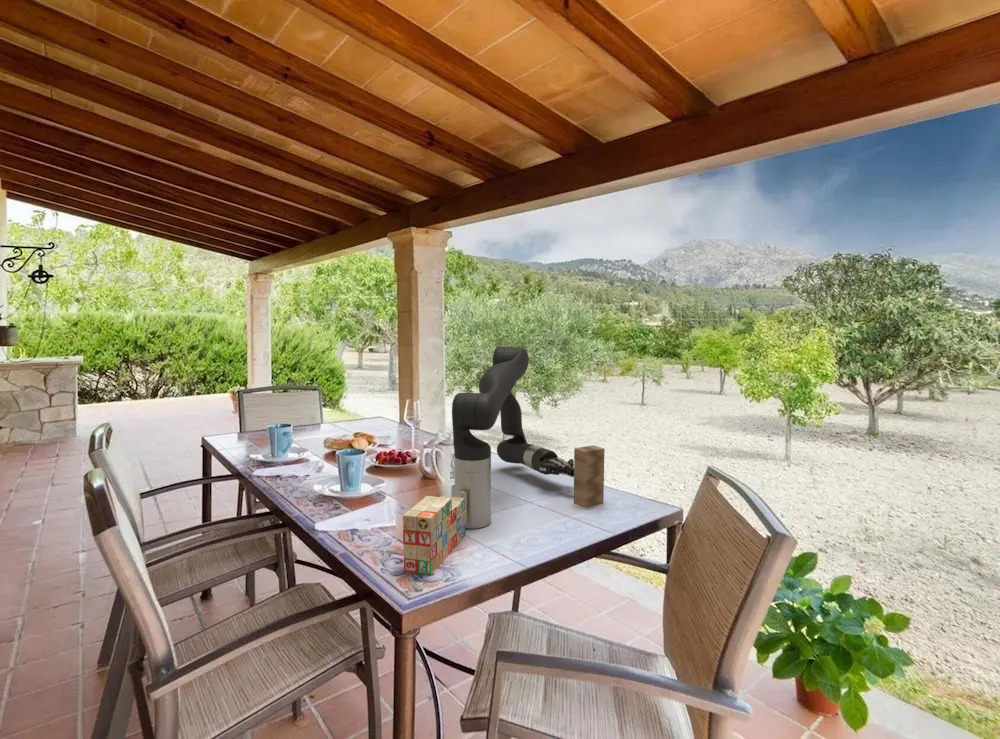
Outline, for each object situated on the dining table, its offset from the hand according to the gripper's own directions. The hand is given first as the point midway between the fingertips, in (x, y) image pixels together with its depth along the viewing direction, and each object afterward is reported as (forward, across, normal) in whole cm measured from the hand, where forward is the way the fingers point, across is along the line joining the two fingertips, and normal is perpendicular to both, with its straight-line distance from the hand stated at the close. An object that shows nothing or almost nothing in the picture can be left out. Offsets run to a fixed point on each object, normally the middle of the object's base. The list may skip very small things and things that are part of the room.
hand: (575, 473), depth 156 cm
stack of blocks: (+12, -49, +8) cm, 51 cm away
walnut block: (+6, 0, +8) cm, 10 cm away
